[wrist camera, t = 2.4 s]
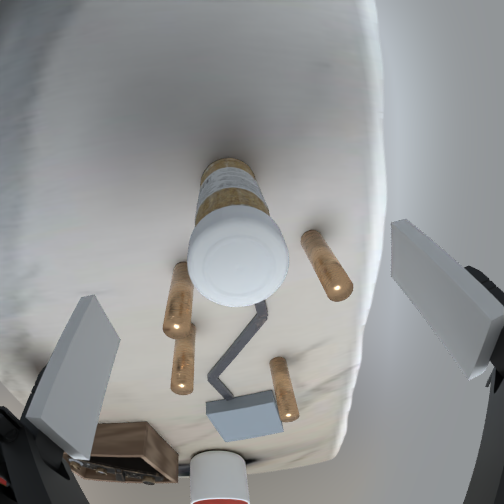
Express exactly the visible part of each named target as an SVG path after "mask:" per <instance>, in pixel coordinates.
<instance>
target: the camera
mask: <svg viewBox="0 0 504 504" xmlns="http://www.w3.org/2000/svg"><path fill="white" fill-rule="evenodd" d="M67 459H68V461H70V466H71V467H72V468H74V469H77V470H80V468H81V466H82V467H86V468H90V469H92V470H93V469H94V470H96V472H97V473H98V474H101V475H107V473H111V474H115V476H116V481H121V482H125V479H126V477H129V478H130V477H132V478H137V479H143V481H142V482H143V483H144V484H148V485H154V484H155V481H163V480H164V477H163V475H162V474H161V473H160V472H158V471H157V470H156V469H155V468H153V467H152V466H151V465H150V464H148V463H147V462H146V461H145V460H144V459H142V458H141V457H99V456H90V460H81V459H73V458H72V457H71V456H69V455H68V458H67Z"/></svg>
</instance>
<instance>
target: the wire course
mask: <svg viewBox="0 0 504 504" xmlns="http://www.w3.org/2000/svg"><path fill="white" fill-rule="evenodd" d="M301 245H302V247H303V249H304V251H305V253H306V255H307V256H308V258H309V260H310V262H311V264H312V266H313V268H314V270H315V272H316V274H317V276H318V278H319V280H320V282H321V284H322V286H323V288H324V290H325V292H326V294H327V296H328V298H329V299H330V300H332V301H335V302H339V301H343V300H345V299H346V298H348V297H349V296H350V295H351V293H352V291H353V283H352V282H351V280H350V278H349V277H348V275H347V274H346V272H345V271H344V269H343V268H342V266H341V264H340V263H339V261H338V260H337V258H336V257H335V255H334V254H333V252H332V251H331V249H330V248H329V246H328V245H327V243H326V242H325V240H324V239H323V237H322V236H321V234H320V233H319V232H318V231H315V230H310V231H307V232H306V233H304V234H303V236H302V237H301ZM193 289H194V285H193V283H192V281H191V279H190V276H189V273H188V268H187V262H180V263H178V264H177V265H176V266H175V267H174V271H173V276H172V281H171V286H170V291H169V296H168V301H167V307H166V312H165V318H164V323H163V331H164V333H165V334H166V335H167V336H168V337H170V338H172V339H175V348H174V357H173V367H172V377H171V390H172V391H173V392H174V393H176V394H179V395H188V394H190V393H192V392H193V381H194V354H195V333H196V328H195V326H194V325H193V324H192V323H191V313H192V301H193ZM255 307H256V311H257V314H256V316H255V317H254V318H253V319H252V321H251V322H250V323H249V324H248V326H247V327H246V328H245V329H244V331H243V332H242V333H241V334H240V336H239V337H238V338H237V339H236V341H235V342H234V343H233V344H232V345H231V347H230V348H229V349H228V350H227V352H226V353H225V354H224V355H223V356H222V358H221V359H220V360H219V361H218V363H217V364H216V365H215V366H214V367H213V369H212V370H211V371H210V372H209V373H208V381H209V382H210V384H211V385H212V386H213V387H214V388H215V389H216V390H217V391H218V392H219V393H220V394H221V395H222V396H223V397H224V398H225V399H226V400H227V401H228V400H231V399H234V396H233V394H232V393H231V392H230V391H229V390H228V389H227V388H226V386H225V385H224V384H223V383H222V382H221V381H220V380H219V379H218V377H219V375H220V374H221V373H222V372H223V371H224V370H225V369H226V367H227V366H228V365H229V364H230V363H231V362H232V360H233V359H234V358H235V357H236V356H237V355H238V353H239V352H240V351H241V350H242V349H243V348H244V346H245V345H246V344H247V343H248V342H249V341H250V339H251V338H252V337H253V336H254V335H255V333H256V332H257V331H258V330H259V329H260V327H261V326H262V325H263V324H264V323H265V321H266V320H267V316H268V312H267V308H266V305H265V301H264V300H263V301H261V302H259V303H256V304H255ZM269 364H270V369H271V374H272V380H273V385H274V390H275V395H276V400H277V405H278V410H279V415H280V420H281V421H282V422H292V421H295V420H296V419H298V418H299V412H298V408H297V404H296V400H295V395H294V391H293V387H292V383H291V379H290V375H289V371H288V367H287V363H286V360H285V359H284V358H282V357H277V358H274V359H272V360H271V361H270V363H269Z"/></svg>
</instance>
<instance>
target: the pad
mask: <svg viewBox="0 0 504 504" xmlns="http://www.w3.org/2000/svg"><path fill="white" fill-rule="evenodd" d="M206 415H207V416H208V418H209V419H210V421H211V422H212V424H213V425H214V427H215V428H216V429H217V431H218V432H219V434H220V435H221V437H222V438H223V439H224V441H225V442H230V441H237V440H243V439H249V438H254V437H260V436H265V435H270V434H275V433H280V432H284V430H283V425H282V421H281V420H280V415H279V411H278V408H277V405H276V402H275V399H274V396H273V393H272V390H270V391H265V392H260V393H256V394H251V395H246V396H241V397H235V398H234V399H231V400H228V401H227V400H226V399H224V400H218V401H212V402H206Z"/></svg>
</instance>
